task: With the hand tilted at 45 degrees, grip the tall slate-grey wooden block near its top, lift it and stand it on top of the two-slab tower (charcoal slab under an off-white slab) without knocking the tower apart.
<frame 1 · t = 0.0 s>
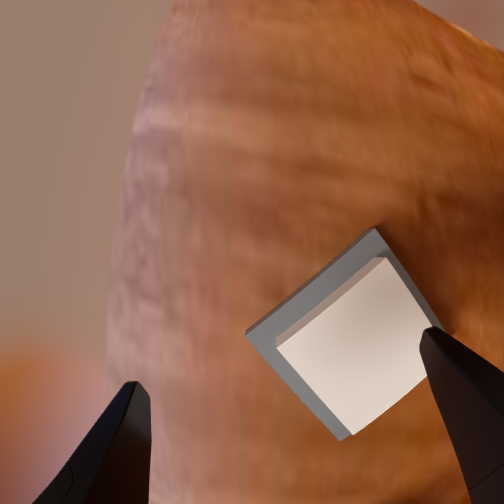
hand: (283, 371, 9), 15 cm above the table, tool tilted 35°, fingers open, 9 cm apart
charcoal base slab: (352, 336, 24), on the table, touching off-white top slab
off-white top slab: (361, 344, 22), point 2 cm above the table, touching charcoal base slab
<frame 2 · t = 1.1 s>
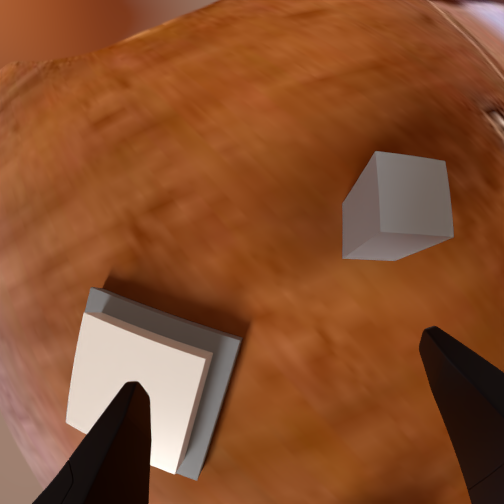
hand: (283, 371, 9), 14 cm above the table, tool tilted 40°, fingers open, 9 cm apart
charcoal base slab: (151, 381, 23), on the table, touching off-white top slab
slate block: (369, 232, 23), on the table
off-white top slab: (139, 388, 21), point 2 cm above the table, touching charcoal base slab
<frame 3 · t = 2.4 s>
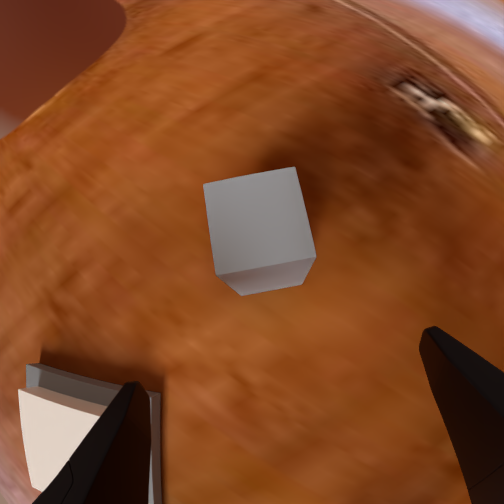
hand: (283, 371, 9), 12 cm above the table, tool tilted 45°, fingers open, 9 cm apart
charcoal base slab: (97, 443, 21), on the table, touching off-white top slab
slate block: (266, 260, 22), on the table
off-white top slab: (83, 451, 18), point 2 cm above the table, touching charcoal base slab
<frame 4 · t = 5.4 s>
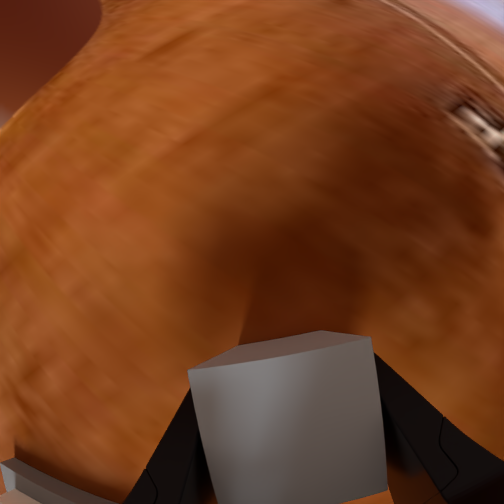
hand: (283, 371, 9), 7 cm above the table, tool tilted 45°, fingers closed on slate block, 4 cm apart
slate block: (286, 378, 15), on the table, touching gripper
when the fingers open (13 cm above the table, at t = 10.6 s): slate block drops 2 cm, point 4 cm above the table.
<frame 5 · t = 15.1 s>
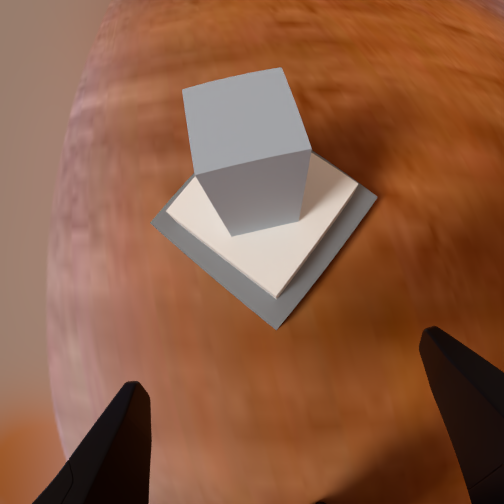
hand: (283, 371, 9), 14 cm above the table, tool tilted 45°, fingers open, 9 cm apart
charcoal base slab: (265, 219, 25), on the table, touching off-white top slab
slate block: (257, 197, 20), point 4 cm above the table
off-white top slab: (264, 209, 23), point 2 cm above the table, touching charcoal base slab
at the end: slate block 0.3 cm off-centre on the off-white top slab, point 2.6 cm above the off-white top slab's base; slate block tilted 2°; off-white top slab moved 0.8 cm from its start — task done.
